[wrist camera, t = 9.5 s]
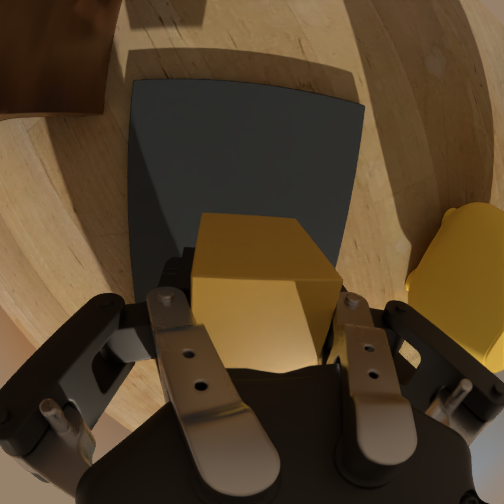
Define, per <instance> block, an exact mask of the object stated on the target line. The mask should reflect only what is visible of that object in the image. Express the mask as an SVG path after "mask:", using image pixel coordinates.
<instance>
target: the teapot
mask: <svg viewBox="0 0 504 504" xmlns="http://www.w3.org/2000/svg"><path fill="white" fill-rule="evenodd" d="M405 286H406V289H407V290H408V305H409V306H411V307H412V308H414V309H415V310H416V311H417V312H419V313H420V314H421V315H423V316H424V317H425V318H426V319H428V320H429V321H430V322H432V323H433V324H434V325H435V326H437V327H438V328H439V329H440V330H442V331H443V332H444V333H445V334H447V335H448V336H449V337H450V338H452V339H453V340H454V341H455V342H456V343H458V344H459V345H460V346H461V347H463V348H464V349H465V350H466V351H467V352H469V353H470V354H471V355H472V356H473V357H474V358H476V359H477V360H478V361H479V362H480V363H481V364H483V365H484V366H485V367H486V368H487V369H488V370H490V371H491V372H492V373H496V372H500V371H502V370H504V211H502V210H500V209H499V208H497V207H495V206H493V205H491V204H488V203H483V202H473V203H469V204H466V205H464V206H461V207H459V208H457V209H456V208H450V209H448V210H447V211H446V212H445V214H444V216H443V218H442V223H441V228H440V229H439V231H438V232H437V234H436V235H435V237H434V239H433V240H432V242H431V244H430V245H429V247H428V249H427V250H426V252H425V254H424V256H423V257H422V259H421V261H420V263H419V265H418V267H417V268H416V269H414V270H413V271H412V272H411V273H410V274H409V276H408V277H407V280H406V284H405Z"/></svg>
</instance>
